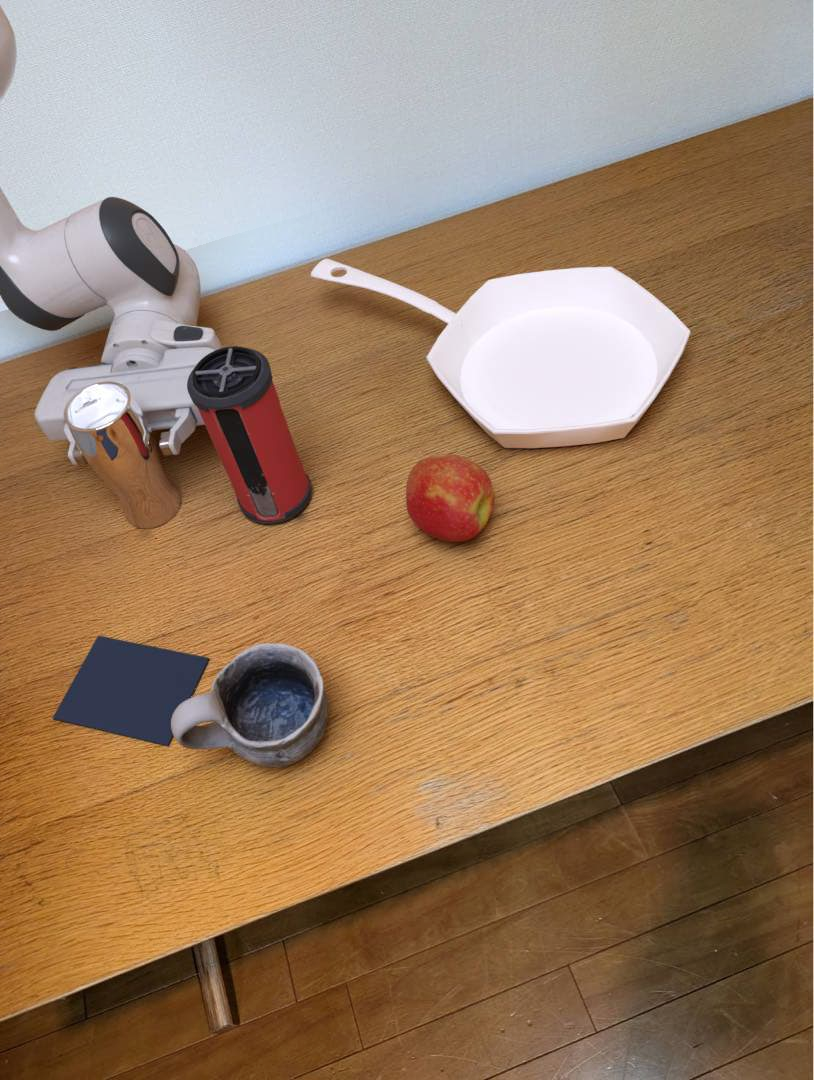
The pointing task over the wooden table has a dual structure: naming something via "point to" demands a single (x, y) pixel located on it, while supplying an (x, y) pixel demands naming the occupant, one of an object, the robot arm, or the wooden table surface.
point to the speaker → (250, 433)
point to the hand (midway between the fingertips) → (122, 455)
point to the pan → (548, 352)
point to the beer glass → (122, 451)
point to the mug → (259, 707)
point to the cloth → (131, 689)
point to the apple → (449, 497)
